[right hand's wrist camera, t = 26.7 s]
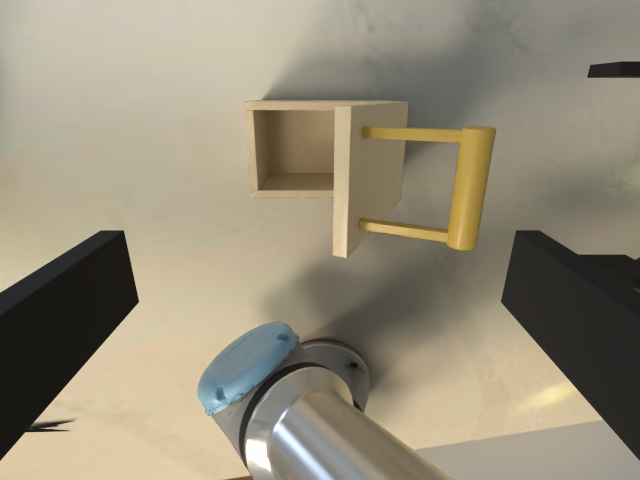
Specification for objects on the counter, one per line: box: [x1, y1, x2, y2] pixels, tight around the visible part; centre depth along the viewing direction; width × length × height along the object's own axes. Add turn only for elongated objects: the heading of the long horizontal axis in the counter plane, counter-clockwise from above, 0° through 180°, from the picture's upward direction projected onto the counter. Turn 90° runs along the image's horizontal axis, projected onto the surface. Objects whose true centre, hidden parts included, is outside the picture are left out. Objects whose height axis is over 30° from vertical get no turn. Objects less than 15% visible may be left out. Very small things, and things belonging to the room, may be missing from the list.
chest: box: [245, 100, 401, 198], centre depth 42 cm, size 15×10×10 cm, turn 90°
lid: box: [333, 102, 496, 258], centre depth 28 cm, size 16×10×9 cm
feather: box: [26, 421, 73, 432], centre depth 64 cm, size 2×28×2 cm
